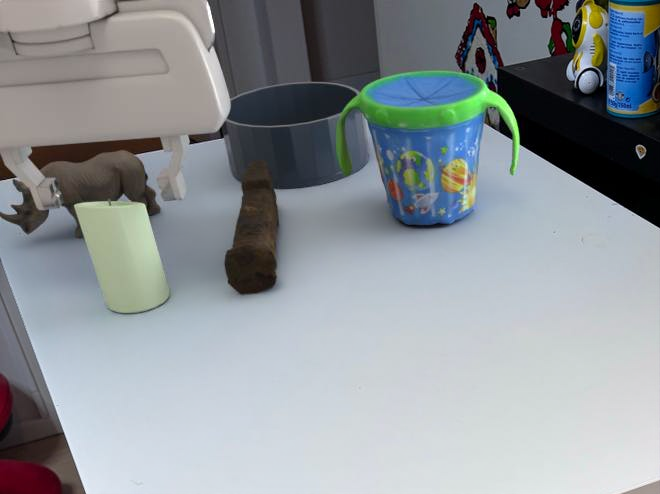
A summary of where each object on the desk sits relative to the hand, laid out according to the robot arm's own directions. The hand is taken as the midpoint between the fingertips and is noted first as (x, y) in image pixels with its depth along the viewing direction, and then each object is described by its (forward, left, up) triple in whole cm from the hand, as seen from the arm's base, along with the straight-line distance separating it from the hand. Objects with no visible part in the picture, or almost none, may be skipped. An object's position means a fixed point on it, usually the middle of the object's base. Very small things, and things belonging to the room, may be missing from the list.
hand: (113, 202), depth 76 cm
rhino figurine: (-9, +15, -8) cm, 19 cm away
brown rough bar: (+8, +9, -8) cm, 14 cm away
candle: (0, 0, -8) cm, 8 cm away
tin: (+9, +30, -8) cm, 32 cm away
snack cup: (+23, +15, -8) cm, 28 cm away
